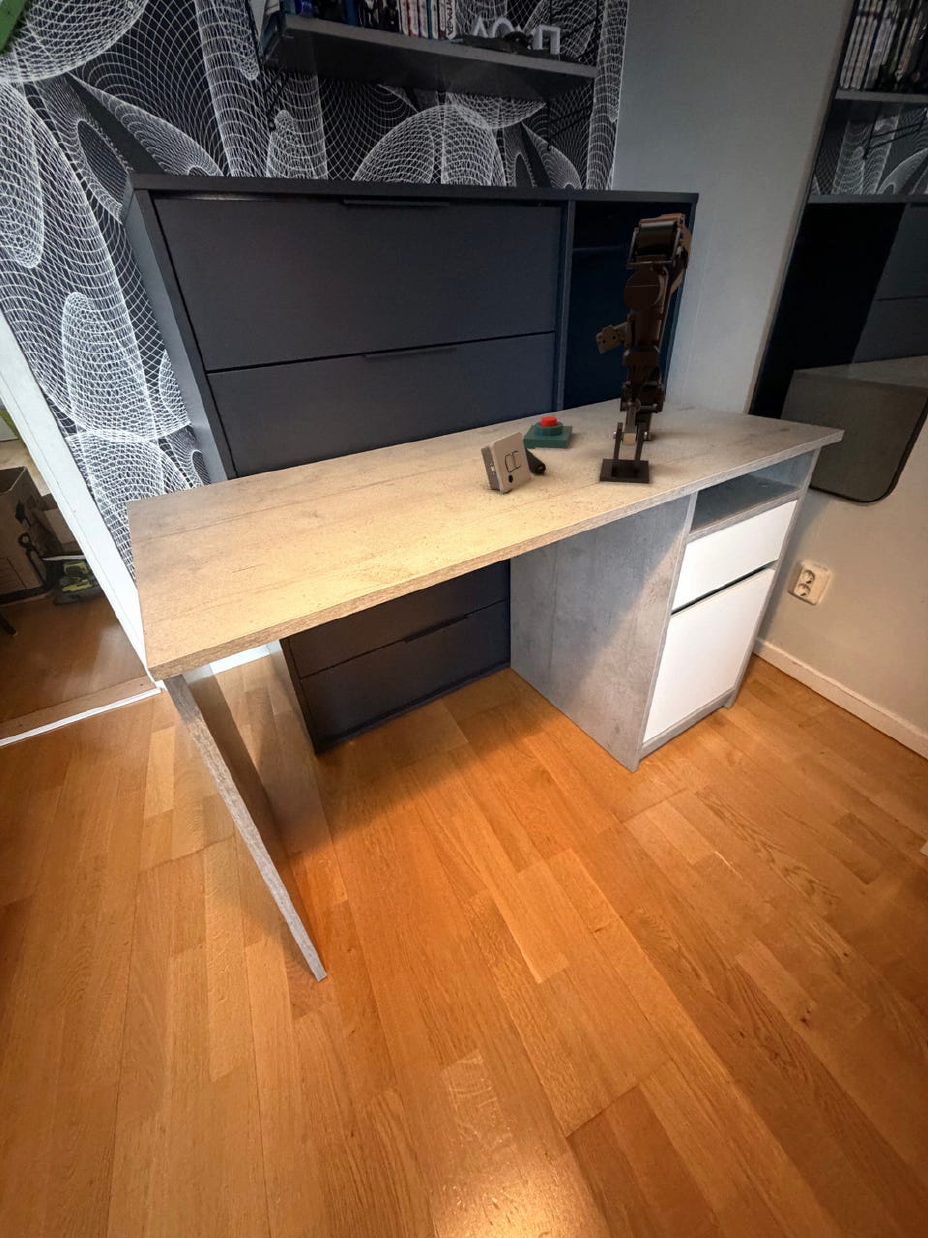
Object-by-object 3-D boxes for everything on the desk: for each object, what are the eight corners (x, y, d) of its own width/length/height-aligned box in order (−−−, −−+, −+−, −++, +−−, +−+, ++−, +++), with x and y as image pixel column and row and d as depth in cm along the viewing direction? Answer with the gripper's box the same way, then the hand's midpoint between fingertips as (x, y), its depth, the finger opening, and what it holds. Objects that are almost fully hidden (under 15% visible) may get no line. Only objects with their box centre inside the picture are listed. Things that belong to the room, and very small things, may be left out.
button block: (531, 433, 123) (532, 417, 121) (571, 435, 120) (573, 418, 118) (522, 448, 114) (523, 430, 111) (566, 450, 111) (567, 431, 109)
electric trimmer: (532, 479, 98) (533, 463, 96) (505, 455, 110) (506, 441, 108) (549, 476, 99) (550, 461, 97) (521, 453, 111) (521, 439, 109)
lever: (624, 409, 102) (626, 394, 99) (639, 409, 101) (642, 394, 99) (620, 446, 93) (622, 431, 91) (636, 446, 93) (638, 432, 90)
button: (542, 423, 117) (542, 416, 116) (557, 424, 116) (557, 416, 115) (539, 427, 114) (540, 420, 113) (555, 428, 113) (555, 420, 112)
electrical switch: (504, 494, 92) (500, 443, 87) (482, 492, 95) (477, 442, 90) (531, 479, 97) (528, 431, 92) (509, 477, 100) (506, 430, 95)
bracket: (602, 464, 102) (607, 417, 97) (647, 466, 100) (655, 418, 95) (599, 482, 94) (604, 433, 89) (648, 485, 92) (657, 434, 86)
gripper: (604, 303, 98) (595, 387, 107) (598, 312, 84) (589, 409, 93) (663, 301, 95) (649, 388, 105) (667, 310, 81) (650, 410, 90)
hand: (633, 398), depth 98 cm, fingers closed
